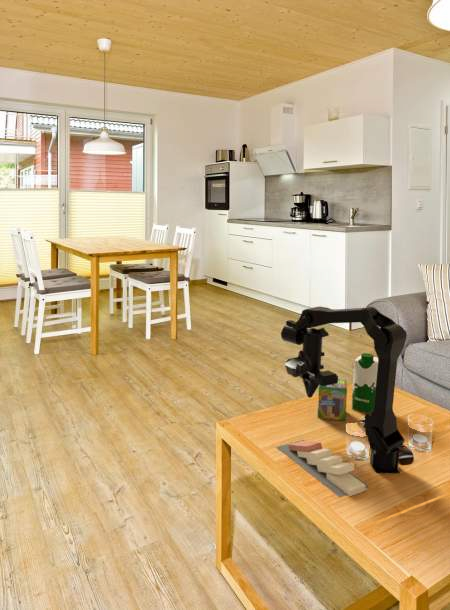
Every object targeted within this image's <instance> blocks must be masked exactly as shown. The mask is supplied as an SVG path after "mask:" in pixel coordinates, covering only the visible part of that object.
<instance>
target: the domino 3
mask: <svg viewBox="0 0 450 610" xmlns="http://www.w3.org/2000/svg"><path fill="white" fill-rule="evenodd" d="M342 462H343V456H342V455H335V454H332V455H331V456H327V457H324V458H321V459H310V458H307V463H308V464H311V465H318V466H326V467H329V466H332V465H336V464H339V463H342Z"/></svg>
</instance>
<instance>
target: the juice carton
mask: <svg viewBox="0 0 450 610" xmlns="http://www.w3.org/2000/svg"><path fill="white" fill-rule="evenodd" d="M347 394H348V386H347V380H346V379H340V378H338V383H336V384H331V385H327V386H321V385H319V386H318V403H317V419H323V420H328V421H329V420H330V421H331V420H333V421H341V422H346V418H347V396H348V395H347Z"/></svg>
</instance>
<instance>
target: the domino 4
mask: <svg viewBox="0 0 450 610" xmlns="http://www.w3.org/2000/svg"><path fill="white" fill-rule="evenodd" d="M317 469H318V472H325V473H332V474H338V475H340V474H343V473H346V472H352V471H354V470H355V465H354V463H352V462H342V463H339V464H336V465H332V466H329V467H326V466H318V465H317Z"/></svg>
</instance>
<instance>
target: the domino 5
mask: <svg viewBox="0 0 450 610" xmlns="http://www.w3.org/2000/svg"><path fill="white" fill-rule="evenodd" d="M326 478H327V479H328V480H329V481H331V482H332V483H333V484H335V485H336V486H337V487H338V488H340V489H341V490H342V491H344V492H345V493H346V494H347V495H348V496H350V497H351V496H353V495H358V494H360V493H364V492H366V488H365V487H366V485H365V484H363V483H362V482H361V481H359V480H358V479H356V478H355V477H353V476H352V475H351V474H349V473H348V472H346V473H343V474H340V475H338V474H332V473H327V476H326Z"/></svg>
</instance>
